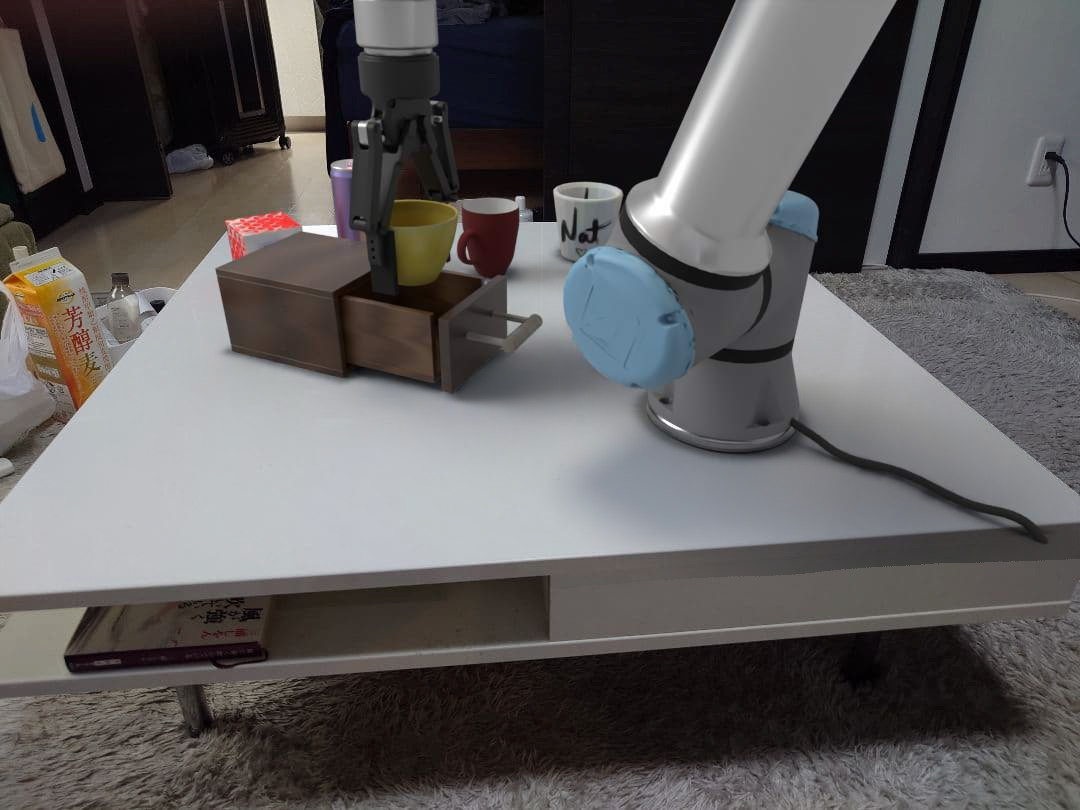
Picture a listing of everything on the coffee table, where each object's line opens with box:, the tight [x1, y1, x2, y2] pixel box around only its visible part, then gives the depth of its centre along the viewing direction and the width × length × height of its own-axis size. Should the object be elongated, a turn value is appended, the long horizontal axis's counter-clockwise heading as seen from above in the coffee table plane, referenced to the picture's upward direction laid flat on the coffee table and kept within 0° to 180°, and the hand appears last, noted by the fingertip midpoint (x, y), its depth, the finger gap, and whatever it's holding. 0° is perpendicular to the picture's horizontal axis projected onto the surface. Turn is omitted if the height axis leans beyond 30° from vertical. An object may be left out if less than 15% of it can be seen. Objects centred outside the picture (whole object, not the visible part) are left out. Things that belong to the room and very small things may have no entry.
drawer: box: [338, 268, 544, 395], centre depth 85 cm, size 20×13×8 cm, turn 67°
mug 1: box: [456, 197, 520, 279], centre depth 109 cm, size 11×8×10 cm
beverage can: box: [329, 158, 366, 242], centre depth 110 cm, size 6×6×15 cm
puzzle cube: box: [225, 211, 304, 261], centre depth 108 cm, size 8×8×8 cm
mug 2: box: [552, 181, 624, 262], centre depth 120 cm, size 10×15×10 cm
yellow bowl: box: [361, 199, 459, 286], centre depth 82 cm, size 10×10×7 cm
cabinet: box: [214, 231, 371, 379], centre depth 90 cm, size 16×15×10 cm
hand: (413, 275), depth 83 cm, fingers closed on yellow bowl, 10 cm apart
